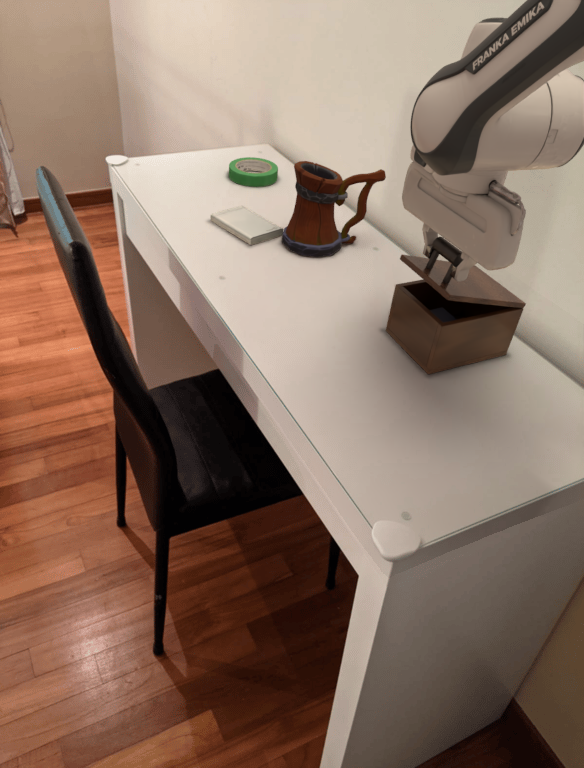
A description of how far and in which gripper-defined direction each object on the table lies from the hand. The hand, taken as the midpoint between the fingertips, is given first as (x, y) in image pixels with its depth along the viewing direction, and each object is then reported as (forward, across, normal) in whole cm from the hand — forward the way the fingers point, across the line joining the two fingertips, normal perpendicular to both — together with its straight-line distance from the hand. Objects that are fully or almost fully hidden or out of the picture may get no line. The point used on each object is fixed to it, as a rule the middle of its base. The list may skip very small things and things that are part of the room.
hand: (443, 267), depth 84 cm
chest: (+14, 0, -4) cm, 14 cm away
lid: (+3, 0, -4) cm, 5 cm away
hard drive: (+14, +45, +10) cm, 48 cm away
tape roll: (+14, +69, -1) cm, 70 cm away
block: (+13, 0, -2) cm, 13 cm away
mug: (+14, +34, -2) cm, 37 cm away
